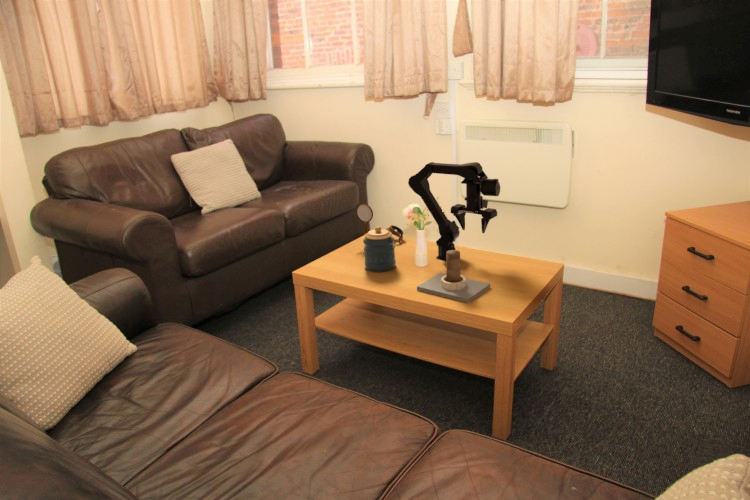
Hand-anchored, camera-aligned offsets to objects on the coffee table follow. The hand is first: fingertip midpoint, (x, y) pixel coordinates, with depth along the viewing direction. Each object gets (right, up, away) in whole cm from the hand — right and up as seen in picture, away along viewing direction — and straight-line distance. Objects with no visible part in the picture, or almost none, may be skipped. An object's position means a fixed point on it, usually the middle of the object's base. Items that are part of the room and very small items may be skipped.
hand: (473, 231), depth 242 cm
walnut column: (-11, -21, -22) cm, 32 cm away
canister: (-38, -15, +4) cm, 41 cm away
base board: (-11, -22, -21) cm, 33 cm away
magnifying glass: (-44, -6, +31) cm, 54 cm away
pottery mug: (-33, -4, +35) cm, 48 cm away
